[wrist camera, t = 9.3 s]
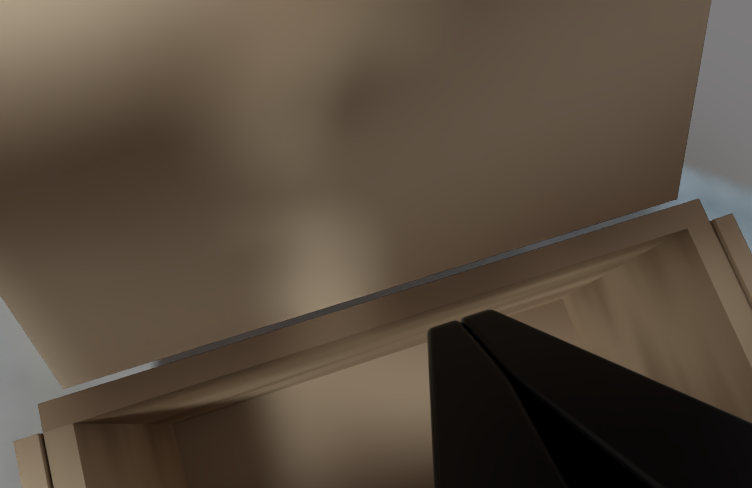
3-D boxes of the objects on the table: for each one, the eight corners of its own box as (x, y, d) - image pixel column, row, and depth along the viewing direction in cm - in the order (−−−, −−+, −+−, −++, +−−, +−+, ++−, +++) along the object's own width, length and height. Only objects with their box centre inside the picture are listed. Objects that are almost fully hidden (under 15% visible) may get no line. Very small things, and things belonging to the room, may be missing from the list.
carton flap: (823, -657, 7) (793, -639, 7) (-545, -512, 5) (-505, -495, 5) (677, 199, 13) (664, 188, 13) (63, 389, 11) (65, 372, 12)
